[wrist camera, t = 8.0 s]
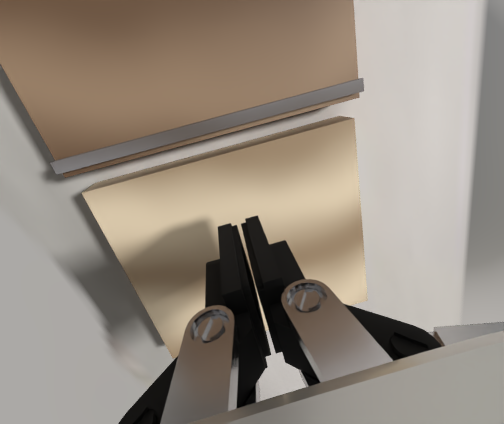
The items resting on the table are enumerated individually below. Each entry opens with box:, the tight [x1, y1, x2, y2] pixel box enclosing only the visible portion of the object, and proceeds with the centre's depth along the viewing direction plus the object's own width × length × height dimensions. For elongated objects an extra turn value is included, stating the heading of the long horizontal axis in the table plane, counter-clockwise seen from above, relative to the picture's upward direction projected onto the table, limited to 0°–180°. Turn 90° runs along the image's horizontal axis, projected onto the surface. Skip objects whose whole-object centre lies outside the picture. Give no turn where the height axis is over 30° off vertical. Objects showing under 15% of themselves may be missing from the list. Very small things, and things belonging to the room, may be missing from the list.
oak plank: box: [82, 116, 368, 358], centre depth 15 cm, size 11×12×2 cm
